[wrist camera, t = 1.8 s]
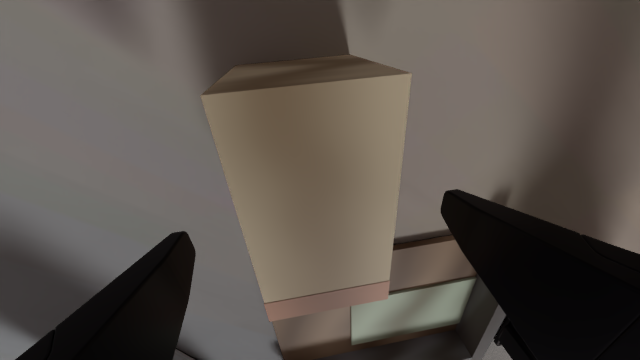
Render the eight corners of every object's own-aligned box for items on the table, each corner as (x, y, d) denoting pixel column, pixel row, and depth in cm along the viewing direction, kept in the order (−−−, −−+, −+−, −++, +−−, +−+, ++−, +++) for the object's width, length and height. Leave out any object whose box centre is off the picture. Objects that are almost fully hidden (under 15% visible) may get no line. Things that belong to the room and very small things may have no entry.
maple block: (349, 54, 11) (412, 73, 6) (351, 212, 16) (387, 298, 11) (235, 65, 11) (199, 95, 6) (271, 225, 15) (269, 321, 10)
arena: (501, 226, 19) (537, 257, 16) (460, 328, 26) (480, 361, 23) (258, 268, 17) (255, 309, 14) (287, 365, 24) (288, 404, 22)
